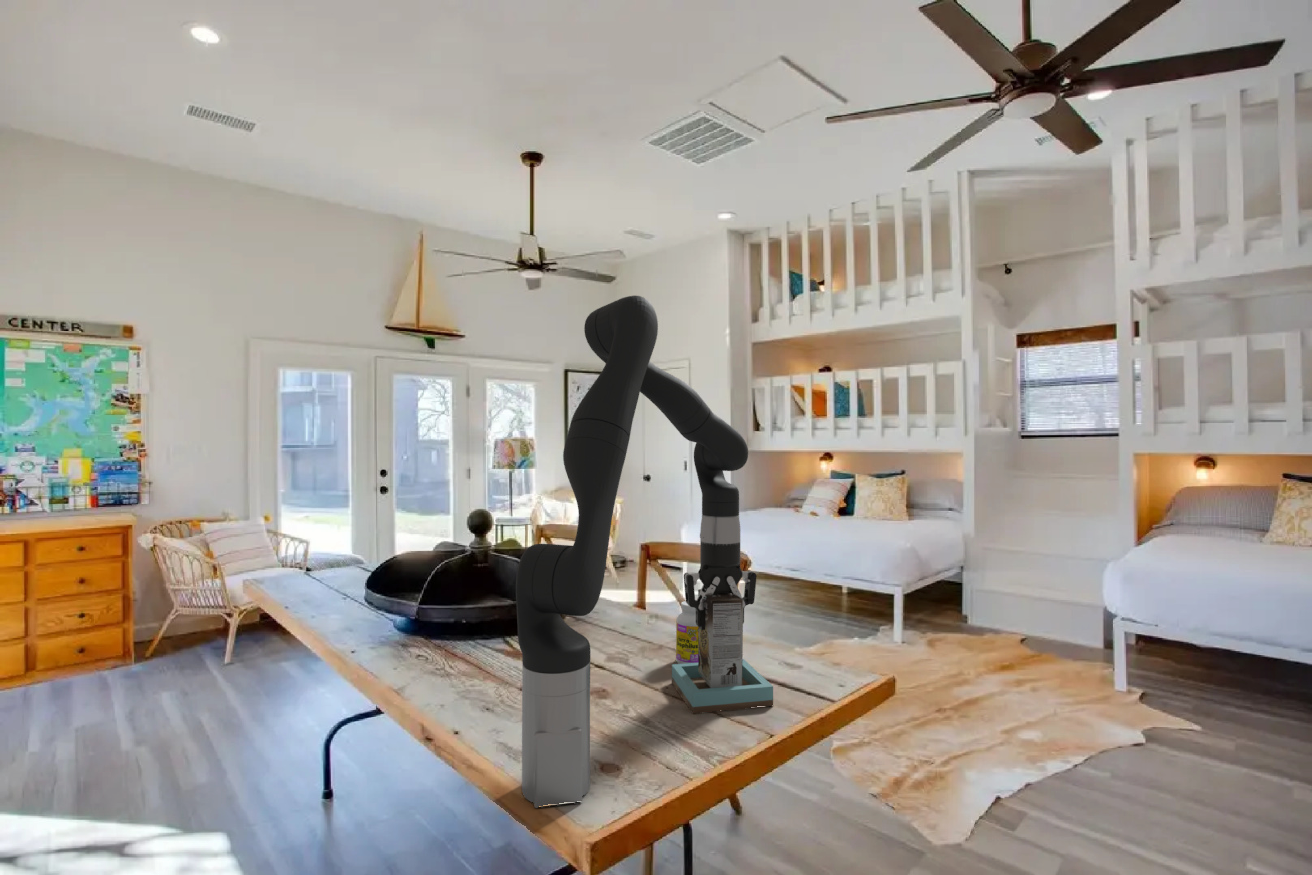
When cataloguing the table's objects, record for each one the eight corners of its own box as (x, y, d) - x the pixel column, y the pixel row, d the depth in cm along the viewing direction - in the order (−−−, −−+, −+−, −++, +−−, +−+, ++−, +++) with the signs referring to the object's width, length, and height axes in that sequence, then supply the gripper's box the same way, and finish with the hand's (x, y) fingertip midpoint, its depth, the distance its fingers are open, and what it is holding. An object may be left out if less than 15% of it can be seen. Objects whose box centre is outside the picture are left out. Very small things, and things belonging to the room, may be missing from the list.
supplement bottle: (670, 664, 139) (670, 604, 139) (684, 655, 144) (684, 597, 144) (699, 670, 135) (699, 608, 136) (711, 660, 141) (712, 601, 141)
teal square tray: (773, 706, 117) (773, 686, 117) (692, 713, 114) (692, 693, 114) (743, 676, 131) (743, 659, 131) (671, 682, 128) (671, 664, 128)
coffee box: (696, 671, 126) (697, 588, 126) (728, 669, 128) (728, 587, 128) (709, 689, 117) (709, 599, 118) (743, 686, 119) (744, 598, 119)
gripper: (688, 543, 117) (688, 635, 117) (763, 541, 121) (763, 631, 120) (678, 537, 125) (678, 624, 125) (749, 535, 128) (748, 620, 128)
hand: (720, 627), depth 122 cm, fingers closed on coffee box, 6 cm apart
